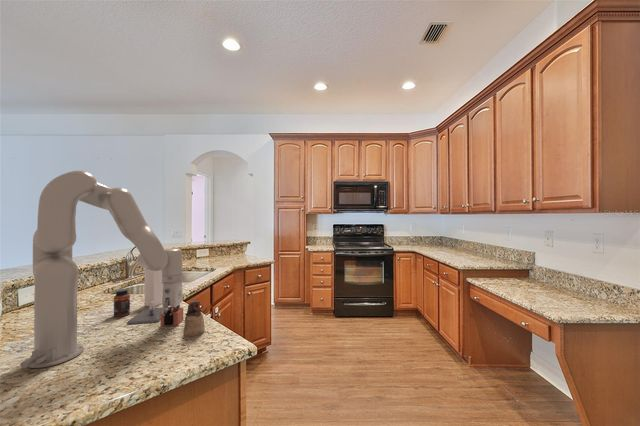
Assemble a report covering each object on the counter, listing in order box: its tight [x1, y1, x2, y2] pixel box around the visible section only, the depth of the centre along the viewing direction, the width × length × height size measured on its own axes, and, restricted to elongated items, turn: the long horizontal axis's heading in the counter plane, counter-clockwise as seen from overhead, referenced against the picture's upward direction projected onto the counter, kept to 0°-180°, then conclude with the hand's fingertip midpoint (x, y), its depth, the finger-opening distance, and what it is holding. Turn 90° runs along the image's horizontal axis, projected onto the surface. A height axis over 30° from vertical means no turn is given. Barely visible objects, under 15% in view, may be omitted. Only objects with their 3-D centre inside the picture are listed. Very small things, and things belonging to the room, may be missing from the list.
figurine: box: [183, 300, 206, 338], centre depth 98 cm, size 7×7×12 cm
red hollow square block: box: [160, 306, 184, 327], centre depth 108 cm, size 6×6×5 cm
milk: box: [144, 268, 163, 307], centre depth 132 cm, size 6×6×22 cm
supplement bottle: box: [113, 288, 131, 318], centre depth 117 cm, size 6×6×11 cm
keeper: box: [126, 302, 163, 325], centre depth 116 cm, size 16×12×6 cm
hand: (172, 320), depth 108 cm, fingers open, 6 cm apart
